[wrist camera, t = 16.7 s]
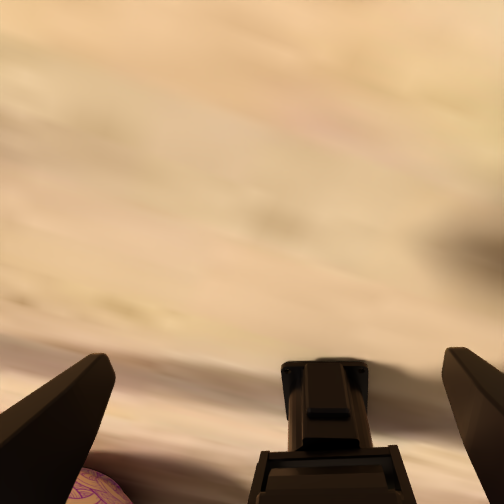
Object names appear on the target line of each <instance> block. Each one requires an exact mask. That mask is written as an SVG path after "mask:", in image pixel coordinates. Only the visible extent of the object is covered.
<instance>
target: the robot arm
mask: <svg viewBox="0 0 504 504" xmlns="http://www.w3.org/2000/svg"><path fill="white" fill-rule="evenodd" d="M360 368H363V369H360ZM286 369H289V370H286ZM281 375H282V383H283V391H284V399H285V407H286V415H287V420H288V451H286V452H270V451H261V454H260V458H259V462H258V463H257V466H256V470H255V474H254V478H253V483H252V487H251V491H250V495H249V499H248V503H247V504H417V503H416V500H415V497H414V494H413V491H412V488H411V485H410V482H409V479H408V476H407V473H406V470H405V467H404V464H403V461H402V458H401V455H400V452H399V449H398V446H397V445H388V447H374V448H373V443H372V438H371V433H370V429H369V424H368V419H367V399H368V367H367V364H366V363H364V362H298V363H284V364H282V366H281ZM115 378H116V376H115V372H114V370H113V367H112V365H111V363H110V360H109V358H108V356H107V355H106V354H104V353H93V354H90V355H88V356H86V357H85V358H83V359H82V360H80V361H79V362H77V363H76V364H74V365H73V366H71V367H70V368H68V369H67V370H65V371H64V372H62V373H61V374H59V375H58V376H56V377H55V378H53V379H52V380H50V381H49V382H47V383H46V384H44V385H43V386H42V387H40V388H39V389H37V390H36V391H34V392H33V393H31V394H30V395H28V396H27V397H25V398H24V399H22V400H21V401H19V402H18V403H16V404H15V405H13V406H12V407H10V408H9V409H7V410H6V411H4V412H3V413H1V414H0V504H66V502H67V499H68V497H69V495H70V493H71V491H72V488H73V486H74V484H75V482H76V480H77V477H78V475H79V473H80V471H81V469H82V466H83V464H84V462H85V460H86V458H87V455H88V453H89V451H90V449H91V447H92V444H93V442H94V440H95V437H96V435H97V432H98V430H99V427H100V424H101V421H102V418H103V416H104V413H105V410H106V407H107V404H108V401H109V398H110V395H111V392H112V390H113V387H114V384H115ZM442 380H443V384H444V387H445V390H446V393H447V396H448V399H449V402H450V405H451V408H452V411H453V414H454V417H455V420H456V423H457V426H458V429H459V432H460V435H461V438H462V441H463V444H464V446H465V449H466V451H467V453H468V456H469V458H470V460H471V463H472V465H473V467H474V469H475V471H476V474H477V476H478V478H479V480H480V482H481V485H482V487H483V489H484V491H485V494H486V496H487V498H488V500H489V502H490V504H504V373H502V372H501V371H499V370H498V369H496V368H495V367H494V366H492V365H491V364H489V363H488V362H486V361H485V360H484V359H482V358H481V357H479V356H478V355H476V354H475V353H473V352H472V351H471V350H469V349H467V348H465V347H449V348H447V349H446V350H445V355H444V361H443V367H442Z"/></svg>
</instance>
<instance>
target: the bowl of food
mask: <svg viewBox="0 0 504 504" xmlns="http://www.w3.org/2000/svg"><path fill="white" fill-rule="evenodd" d="M66 504H133V503H132V502H131V501H130V499H129V498H128V497H127V495H126V494H124V493H123V490H122V489H121V487H120V486H119V485H118V484H117V483H116V482H115V481H114V480H113V479H111V478H110V477H108V476H106V475H104V474H103V473H100V472H98V471H95V470H92V469H88V468H83V467H82V469H81V471H80V473H79V475H78V477H77V480H76V482H75V484H74V486H73V488H72V491H71V493H70V495H69V497H68V499H67V502H66Z"/></svg>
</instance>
